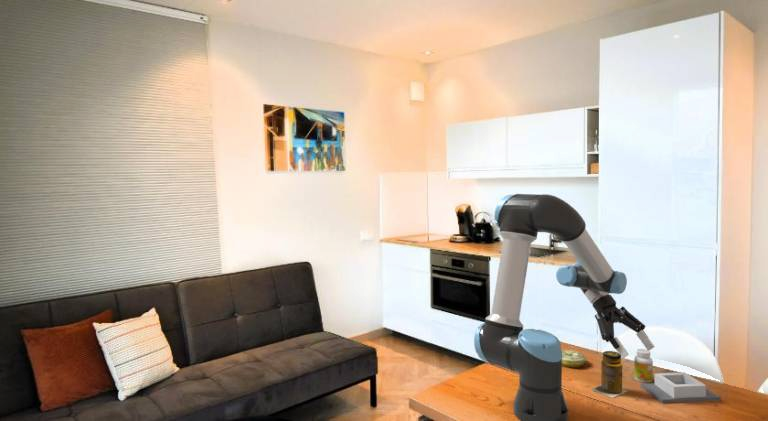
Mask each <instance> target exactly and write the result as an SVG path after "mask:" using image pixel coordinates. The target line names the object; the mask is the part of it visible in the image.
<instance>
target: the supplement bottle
mask: <svg viewBox="0 0 768 421" xmlns="http://www.w3.org/2000/svg"><path fill="white" fill-rule="evenodd" d="M633 361H634V365H633V367H634V368H633V370H634V371H633V377H634V379H635V380H636V381H638V382H640V383H645V384H649V383H651V382H653V379H654V378H653V376H654V375H653V369H654V367H653V365H654V364H653V363H654V362H653V358H652V357H651V351H650V350H649V351H648V350H647V349H646V348H639V349H637V350H636V356H634V360H633Z"/></svg>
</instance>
